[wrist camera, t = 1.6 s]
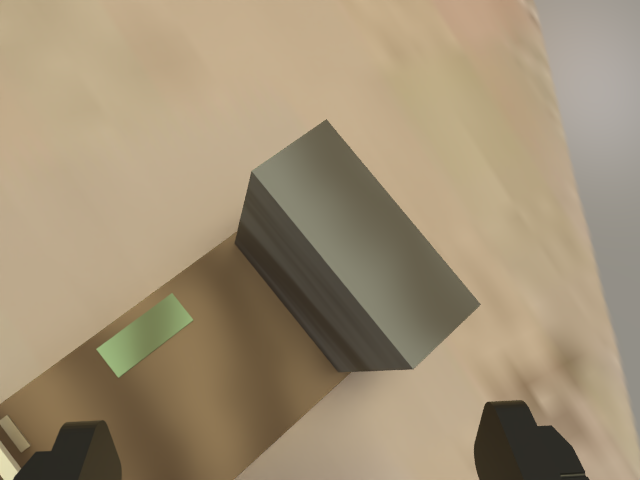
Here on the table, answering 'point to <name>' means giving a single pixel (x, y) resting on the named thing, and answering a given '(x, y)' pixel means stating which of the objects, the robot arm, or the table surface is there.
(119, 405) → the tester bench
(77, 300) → the table surface
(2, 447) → the cream lever switch
